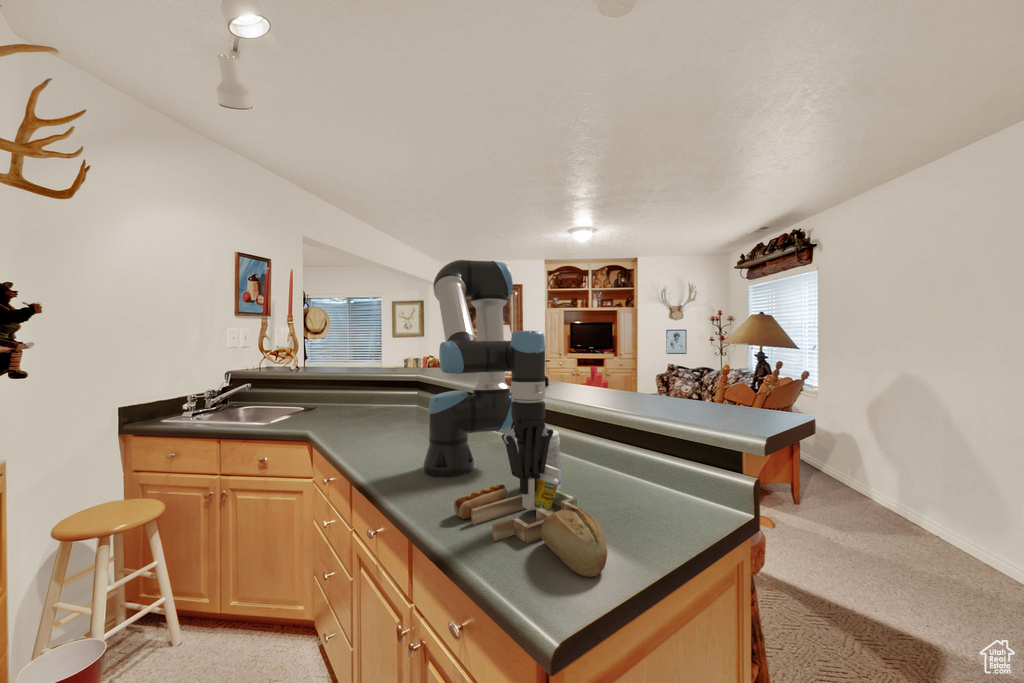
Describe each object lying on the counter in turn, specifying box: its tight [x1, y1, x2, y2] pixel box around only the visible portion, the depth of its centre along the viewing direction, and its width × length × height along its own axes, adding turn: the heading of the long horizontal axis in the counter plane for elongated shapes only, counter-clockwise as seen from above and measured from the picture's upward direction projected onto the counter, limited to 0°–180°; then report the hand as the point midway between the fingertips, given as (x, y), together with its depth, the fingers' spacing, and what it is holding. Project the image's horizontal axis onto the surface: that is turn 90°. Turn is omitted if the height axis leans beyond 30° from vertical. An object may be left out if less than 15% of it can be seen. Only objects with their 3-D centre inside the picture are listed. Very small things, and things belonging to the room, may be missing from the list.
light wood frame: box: [470, 489, 583, 545], centre depth 85 cm, size 14×22×3 cm, turn 125°
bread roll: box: [541, 508, 608, 578], centre depth 71 cm, size 10×15×8 cm, turn 28°
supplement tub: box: [539, 429, 562, 491], centre depth 104 cm, size 10×10×15 cm
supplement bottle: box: [533, 465, 559, 513], centre depth 90 cm, size 5×5×10 cm
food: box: [453, 484, 508, 520], centre depth 91 cm, size 14×6×5 cm, turn 132°
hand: (528, 507), depth 87 cm, fingers closed
